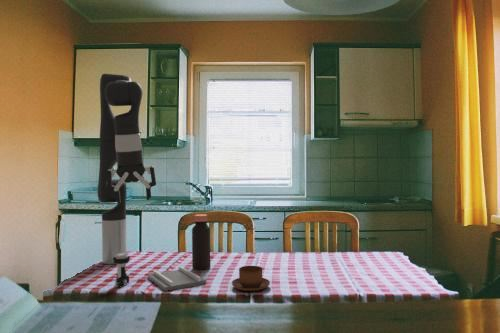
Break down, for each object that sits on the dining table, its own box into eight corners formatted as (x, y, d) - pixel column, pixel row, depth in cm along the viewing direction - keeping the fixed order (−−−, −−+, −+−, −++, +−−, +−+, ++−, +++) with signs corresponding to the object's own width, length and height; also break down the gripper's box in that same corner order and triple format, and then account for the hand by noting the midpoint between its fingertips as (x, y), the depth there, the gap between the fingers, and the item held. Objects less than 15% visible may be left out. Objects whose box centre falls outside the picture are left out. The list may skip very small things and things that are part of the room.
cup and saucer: (226, 285, 127) (226, 266, 127) (260, 280, 132) (260, 262, 132) (240, 296, 116) (240, 275, 116) (276, 291, 121) (276, 271, 121)
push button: (122, 289, 123) (122, 257, 123) (107, 288, 124) (107, 256, 124) (133, 283, 130) (133, 252, 130) (118, 282, 131) (118, 252, 131)
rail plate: (147, 278, 135) (147, 271, 135) (185, 271, 143) (185, 265, 143) (165, 291, 121) (164, 283, 121) (206, 283, 128) (206, 276, 128)
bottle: (188, 269, 146) (188, 215, 146) (198, 265, 152) (197, 213, 152) (205, 271, 143) (204, 216, 143) (213, 266, 150) (213, 214, 150)
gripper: (152, 146, 124) (156, 196, 127) (105, 149, 120) (110, 200, 123) (153, 148, 117) (157, 201, 119) (102, 152, 113) (108, 206, 116)
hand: (133, 201), depth 121 cm, fingers open, 8 cm apart
